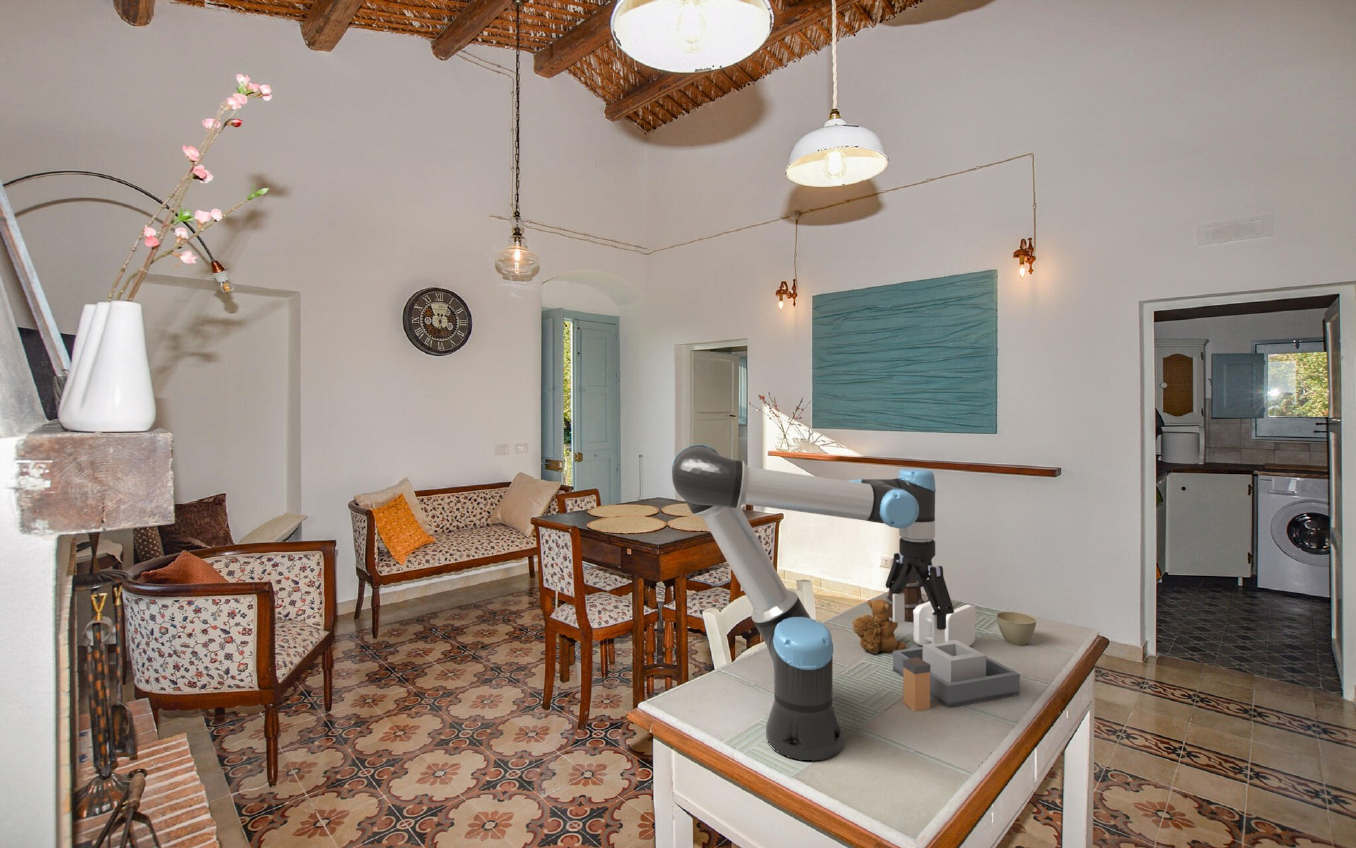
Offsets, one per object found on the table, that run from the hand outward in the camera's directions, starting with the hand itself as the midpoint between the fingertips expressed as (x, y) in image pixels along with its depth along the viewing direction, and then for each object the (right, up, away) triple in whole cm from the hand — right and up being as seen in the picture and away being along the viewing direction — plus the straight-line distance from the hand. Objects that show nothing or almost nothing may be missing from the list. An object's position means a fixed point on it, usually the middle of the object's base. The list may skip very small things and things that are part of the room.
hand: (917, 631), depth 137 cm
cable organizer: (+21, -16, +34) cm, 43 cm away
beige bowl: (+42, -15, +36) cm, 57 cm away
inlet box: (+13, -16, +12) cm, 24 cm away
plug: (0, -17, +1) cm, 17 cm away
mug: (+20, -15, +56) cm, 62 cm away
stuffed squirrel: (+2, -16, +32) cm, 36 cm away
